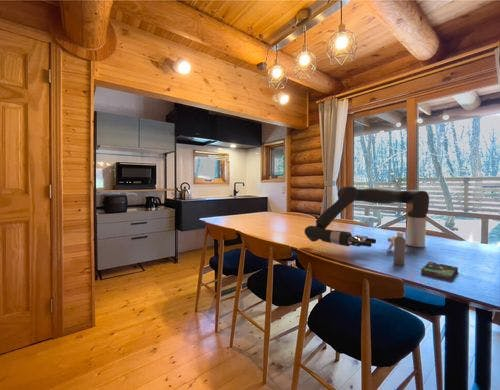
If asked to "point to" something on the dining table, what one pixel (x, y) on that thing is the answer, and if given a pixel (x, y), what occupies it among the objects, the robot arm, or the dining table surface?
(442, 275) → the disk drive
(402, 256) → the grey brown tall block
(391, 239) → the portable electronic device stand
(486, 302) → the dining table surface
